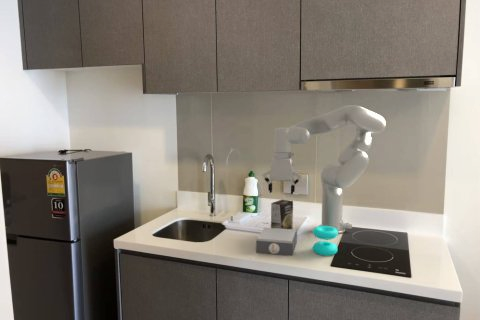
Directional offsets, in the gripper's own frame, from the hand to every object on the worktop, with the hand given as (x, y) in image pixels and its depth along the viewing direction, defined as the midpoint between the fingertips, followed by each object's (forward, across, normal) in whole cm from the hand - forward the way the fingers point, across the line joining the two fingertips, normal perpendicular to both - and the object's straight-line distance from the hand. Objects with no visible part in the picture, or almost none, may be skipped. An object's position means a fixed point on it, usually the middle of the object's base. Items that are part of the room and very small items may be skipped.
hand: (281, 192), depth 179 cm
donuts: (+20, -21, +15) cm, 33 cm away
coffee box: (+21, -1, 0) cm, 21 cm away
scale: (+20, -1, +14) cm, 25 cm away
